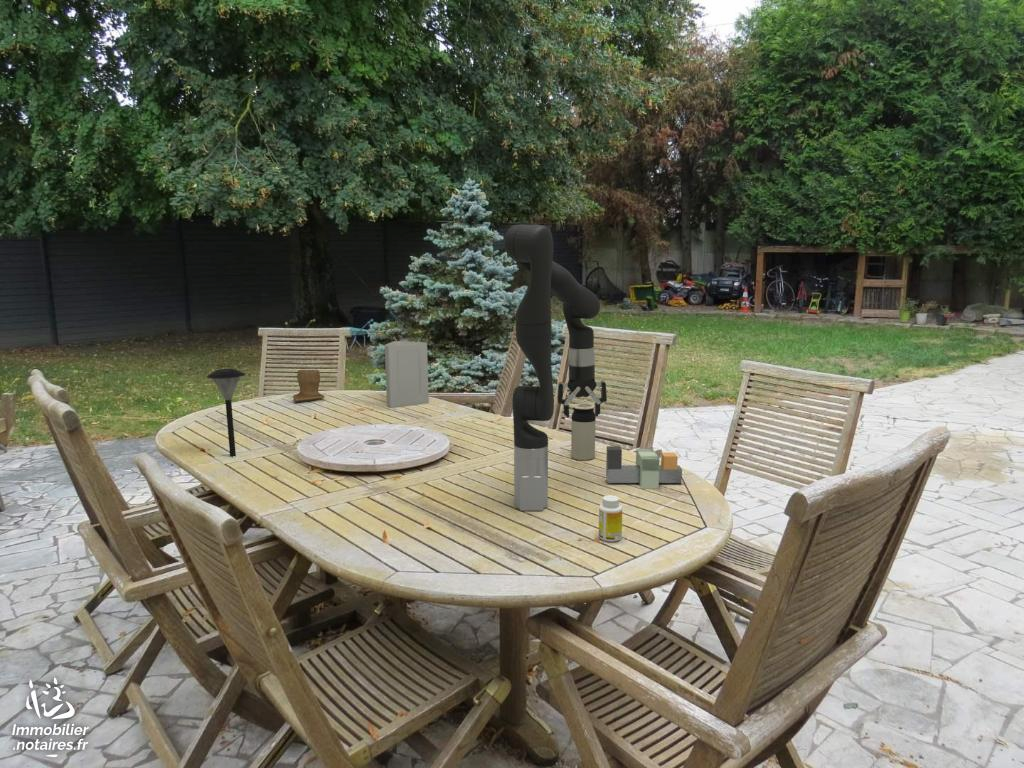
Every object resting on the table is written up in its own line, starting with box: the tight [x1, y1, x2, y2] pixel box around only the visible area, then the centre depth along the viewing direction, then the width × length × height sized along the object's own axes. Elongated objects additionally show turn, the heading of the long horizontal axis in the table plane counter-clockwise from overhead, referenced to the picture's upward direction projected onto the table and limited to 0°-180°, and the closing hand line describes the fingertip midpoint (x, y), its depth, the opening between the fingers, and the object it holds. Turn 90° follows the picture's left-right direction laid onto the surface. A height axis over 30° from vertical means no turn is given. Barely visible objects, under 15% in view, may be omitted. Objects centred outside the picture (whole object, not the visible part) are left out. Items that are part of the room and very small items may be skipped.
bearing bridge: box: [635, 448, 661, 490], centre depth 206 cm, size 11×5×9 cm, turn 179°
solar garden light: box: [206, 368, 246, 457], centre depth 233 cm, size 12×12×30 cm
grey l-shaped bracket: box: [605, 445, 683, 484], centre depth 206 cm, size 4×22×10 cm, turn 89°
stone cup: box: [292, 369, 325, 403], centre depth 325 cm, size 15×12×15 cm
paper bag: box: [384, 340, 430, 409], centre depth 317 cm, size 19×15×28 cm
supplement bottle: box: [598, 494, 623, 543], centre depth 166 cm, size 6×6×10 cm
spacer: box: [660, 452, 678, 469], centre depth 206 cm, size 4×4×4 cm
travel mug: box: [570, 402, 597, 461], centre depth 231 cm, size 8×8×18 cm
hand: (582, 416), depth 203 cm, fingers open, 8 cm apart
